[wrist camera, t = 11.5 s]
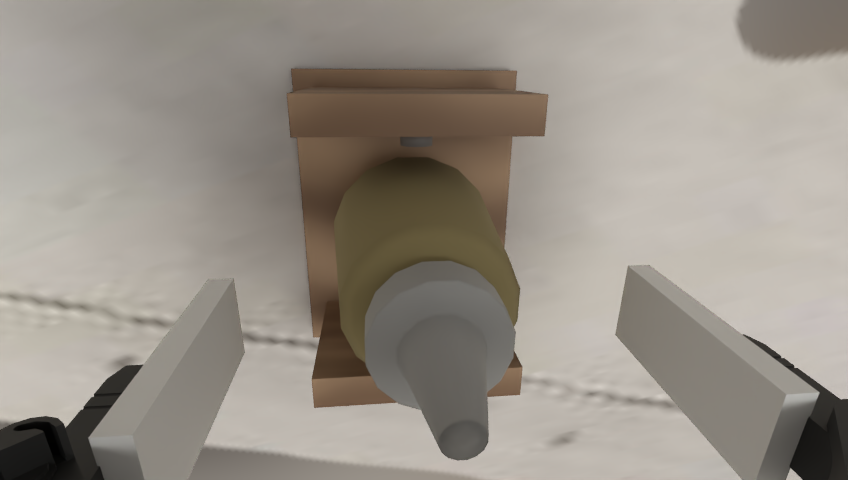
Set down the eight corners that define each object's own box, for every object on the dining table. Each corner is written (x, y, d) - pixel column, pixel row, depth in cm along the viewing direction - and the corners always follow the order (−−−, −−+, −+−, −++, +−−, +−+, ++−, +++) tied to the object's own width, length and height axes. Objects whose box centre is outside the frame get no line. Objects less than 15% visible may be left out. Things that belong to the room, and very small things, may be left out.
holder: (294, 68, 25) (256, 67, 17) (510, 70, 26) (575, 70, 18) (315, 327, 31) (294, 424, 22) (493, 319, 32) (537, 408, 23)
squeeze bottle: (390, 300, 29) (414, 611, 12) (309, 197, 26) (198, 416, 10) (499, 229, 28) (685, 460, 12) (427, 115, 26) (532, 199, 9)
